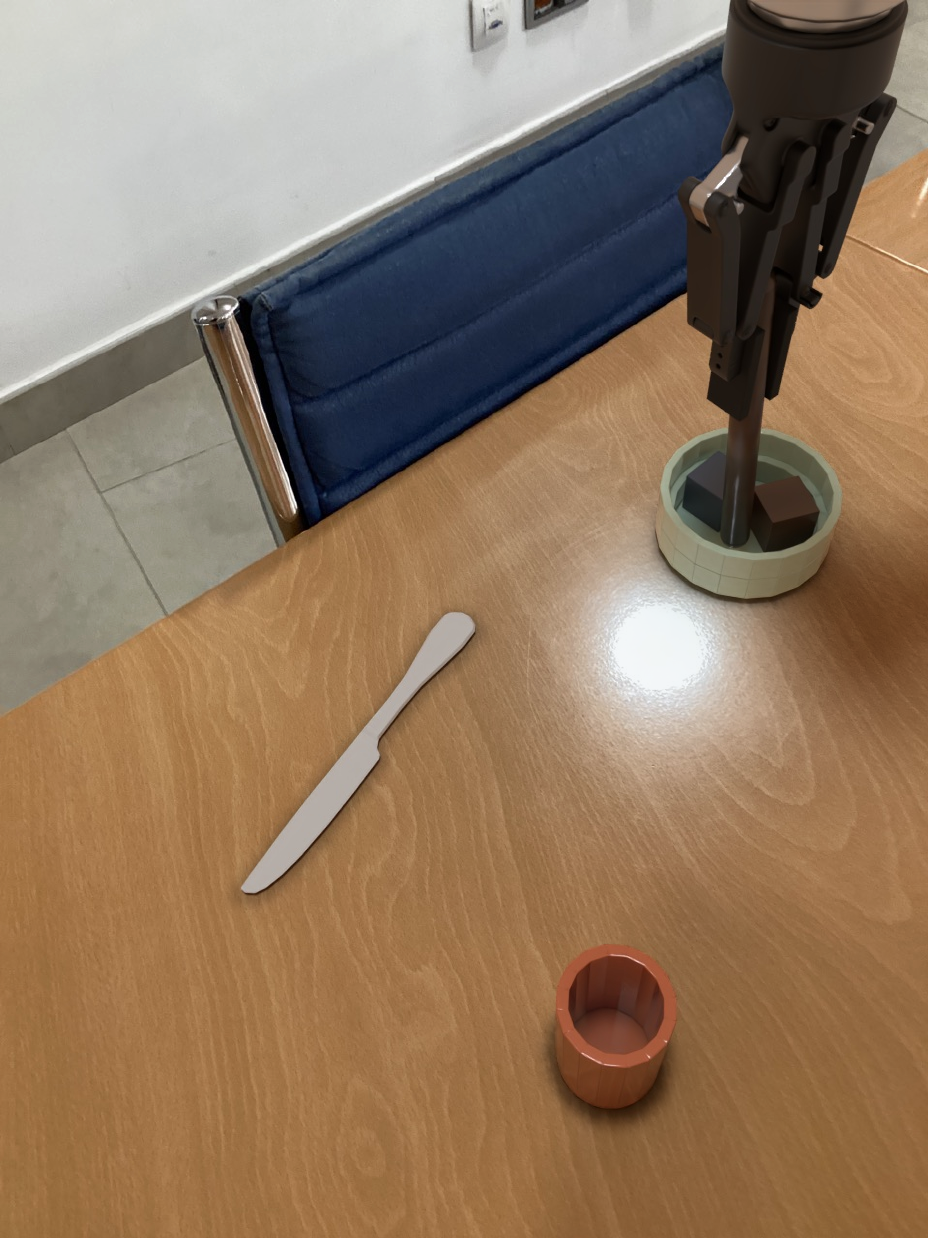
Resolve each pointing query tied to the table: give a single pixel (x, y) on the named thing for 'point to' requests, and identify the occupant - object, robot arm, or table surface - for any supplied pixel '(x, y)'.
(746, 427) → the stick
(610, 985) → the holder
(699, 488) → the block
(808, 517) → the block
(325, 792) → the butter knife
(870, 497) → the table surface
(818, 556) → the bowl
